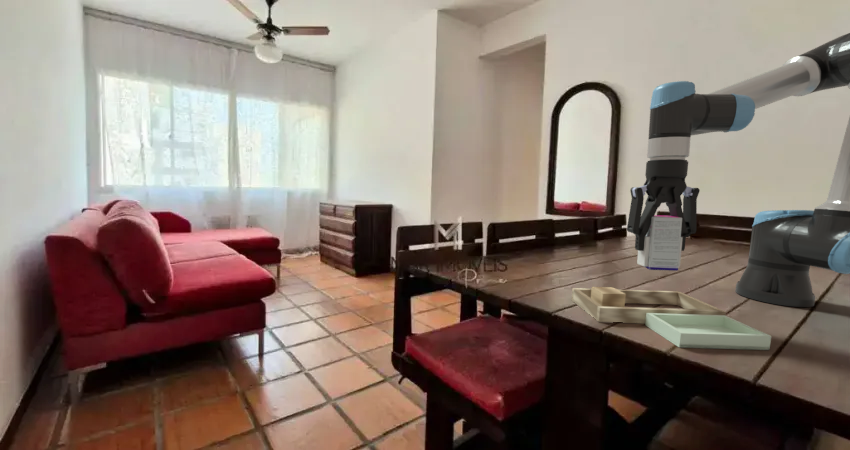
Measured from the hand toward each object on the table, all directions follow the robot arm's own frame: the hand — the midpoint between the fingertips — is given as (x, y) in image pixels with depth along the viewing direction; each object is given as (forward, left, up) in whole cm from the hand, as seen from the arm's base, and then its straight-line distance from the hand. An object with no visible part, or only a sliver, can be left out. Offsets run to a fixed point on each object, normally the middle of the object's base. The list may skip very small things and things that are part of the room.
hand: (658, 265), depth 82 cm
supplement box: (0, 0, -1) cm, 1 cm away
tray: (-1, +13, -11) cm, 17 cm away
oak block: (+11, +1, -11) cm, 15 cm away
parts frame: (+3, 0, -11) cm, 11 cm away
